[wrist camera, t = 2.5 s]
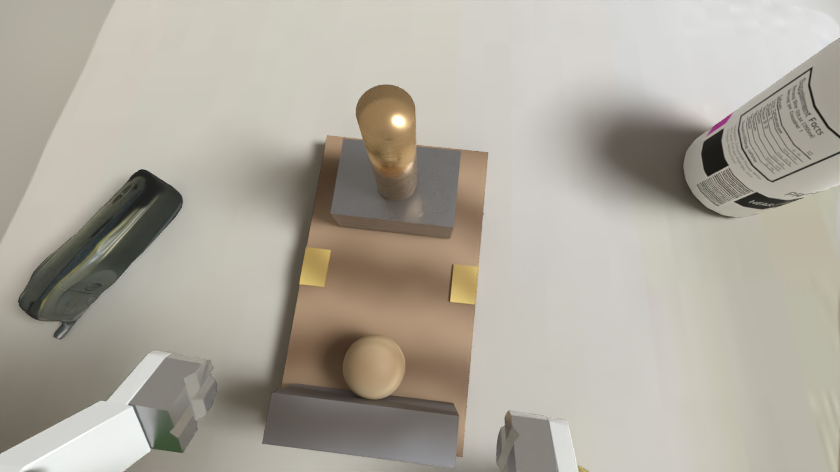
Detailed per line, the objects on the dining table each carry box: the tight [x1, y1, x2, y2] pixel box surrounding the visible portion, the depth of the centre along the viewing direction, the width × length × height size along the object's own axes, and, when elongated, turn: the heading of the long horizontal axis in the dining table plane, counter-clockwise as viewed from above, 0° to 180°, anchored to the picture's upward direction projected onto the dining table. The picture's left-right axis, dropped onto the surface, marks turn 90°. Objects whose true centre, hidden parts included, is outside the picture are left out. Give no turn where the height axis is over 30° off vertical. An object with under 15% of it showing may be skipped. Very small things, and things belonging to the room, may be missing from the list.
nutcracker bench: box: [262, 135, 488, 468], centre depth 31 cm, size 24×14×7 cm, turn 173°
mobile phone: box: [18, 169, 183, 339], centre depth 33 cm, size 5×3×15 cm
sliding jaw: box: [330, 85, 461, 239], centre depth 28 cm, size 6×9×14 cm, turn 83°
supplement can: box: [683, 38, 840, 218], centre depth 30 cm, size 8×8×15 cm
